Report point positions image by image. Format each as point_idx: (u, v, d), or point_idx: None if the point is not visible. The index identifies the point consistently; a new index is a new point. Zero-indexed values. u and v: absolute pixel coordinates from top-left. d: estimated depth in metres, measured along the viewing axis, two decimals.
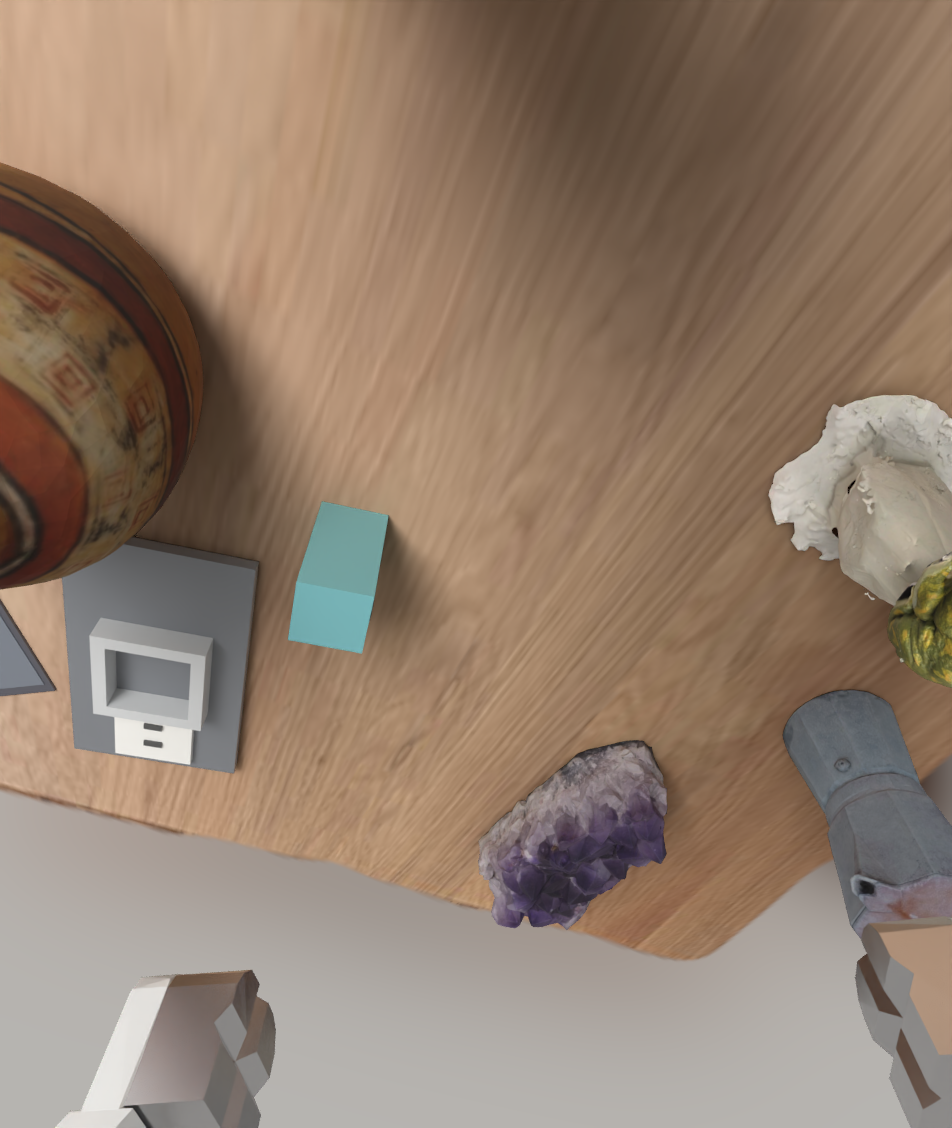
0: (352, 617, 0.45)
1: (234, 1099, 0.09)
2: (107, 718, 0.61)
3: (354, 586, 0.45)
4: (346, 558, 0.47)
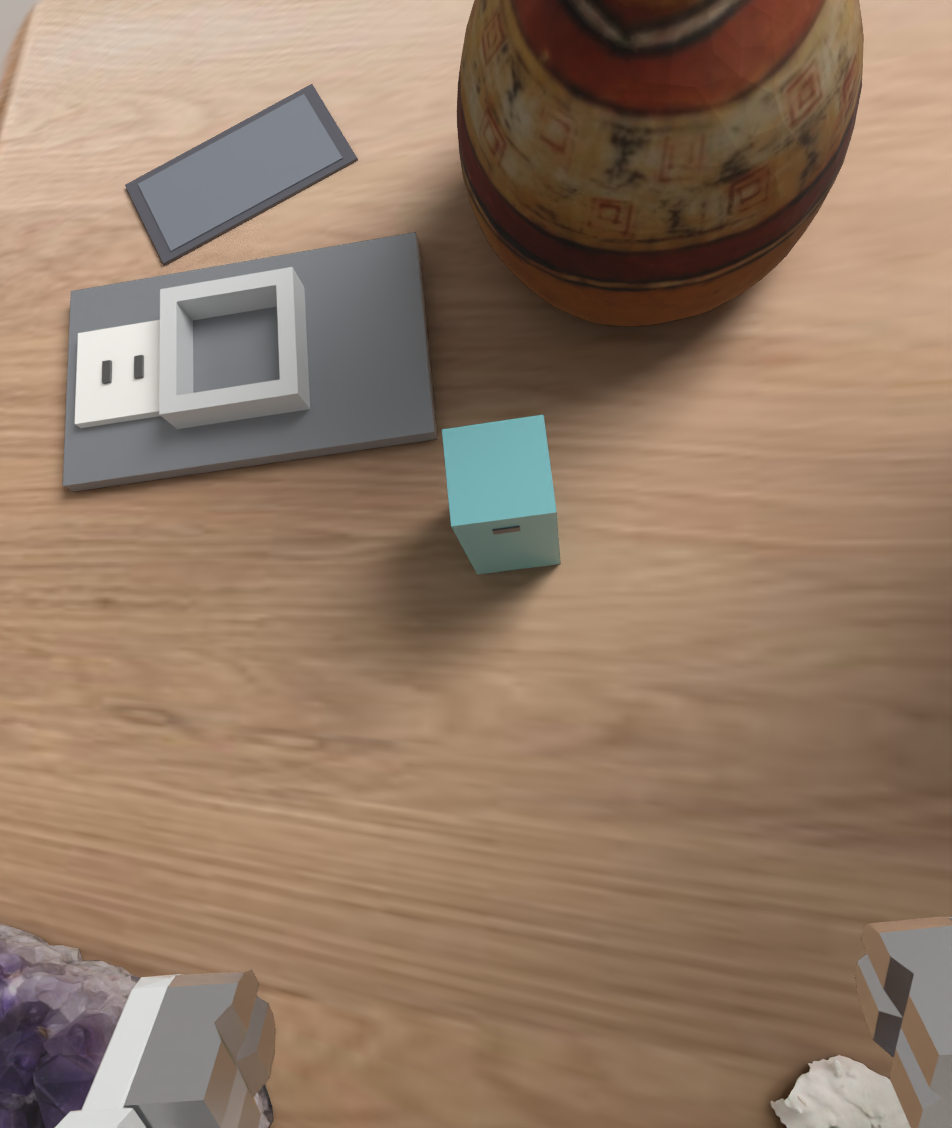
0: (509, 496, 0.33)
1: (234, 1099, 0.09)
2: (136, 318, 0.47)
3: None
4: None
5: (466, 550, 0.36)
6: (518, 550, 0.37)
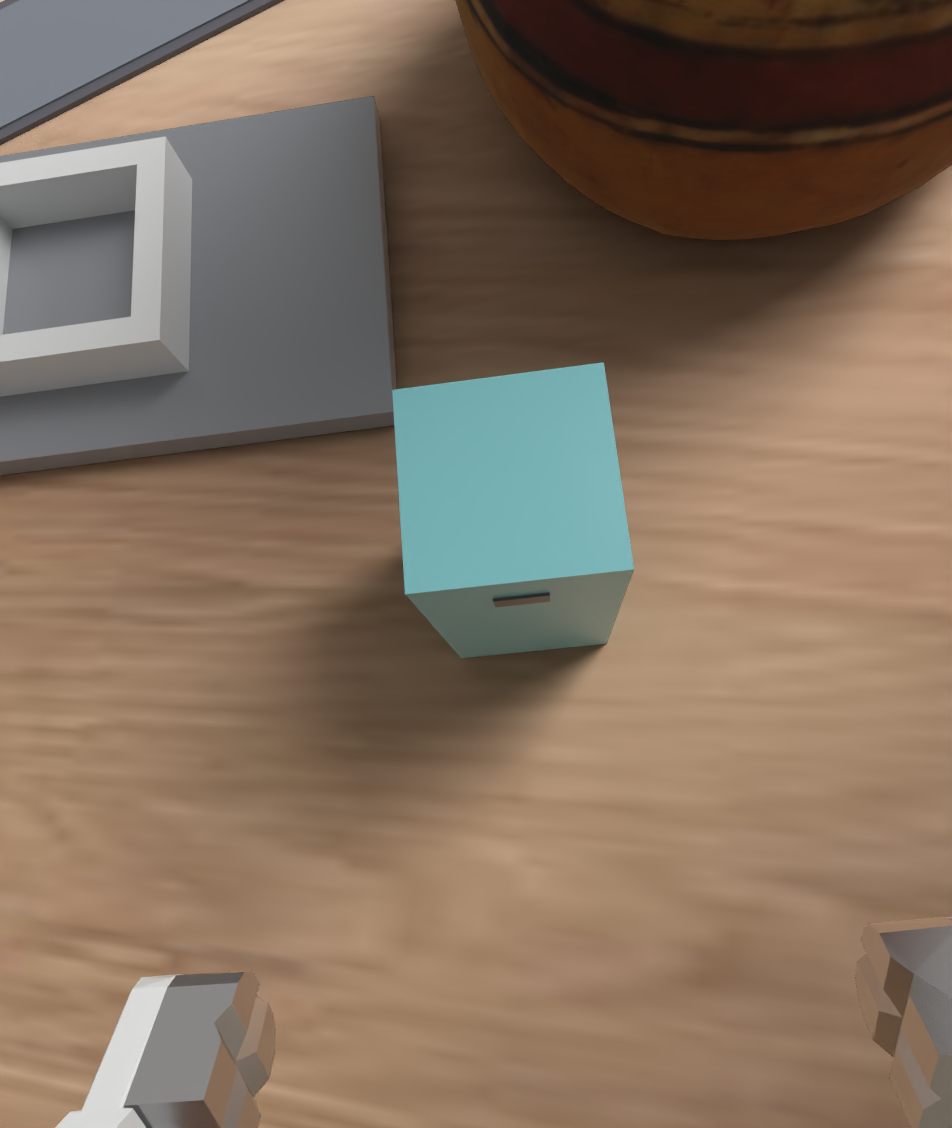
0: (532, 531, 0.15)
1: (234, 1099, 0.09)
2: None
3: None
4: None
5: (440, 629, 0.19)
6: (537, 628, 0.20)
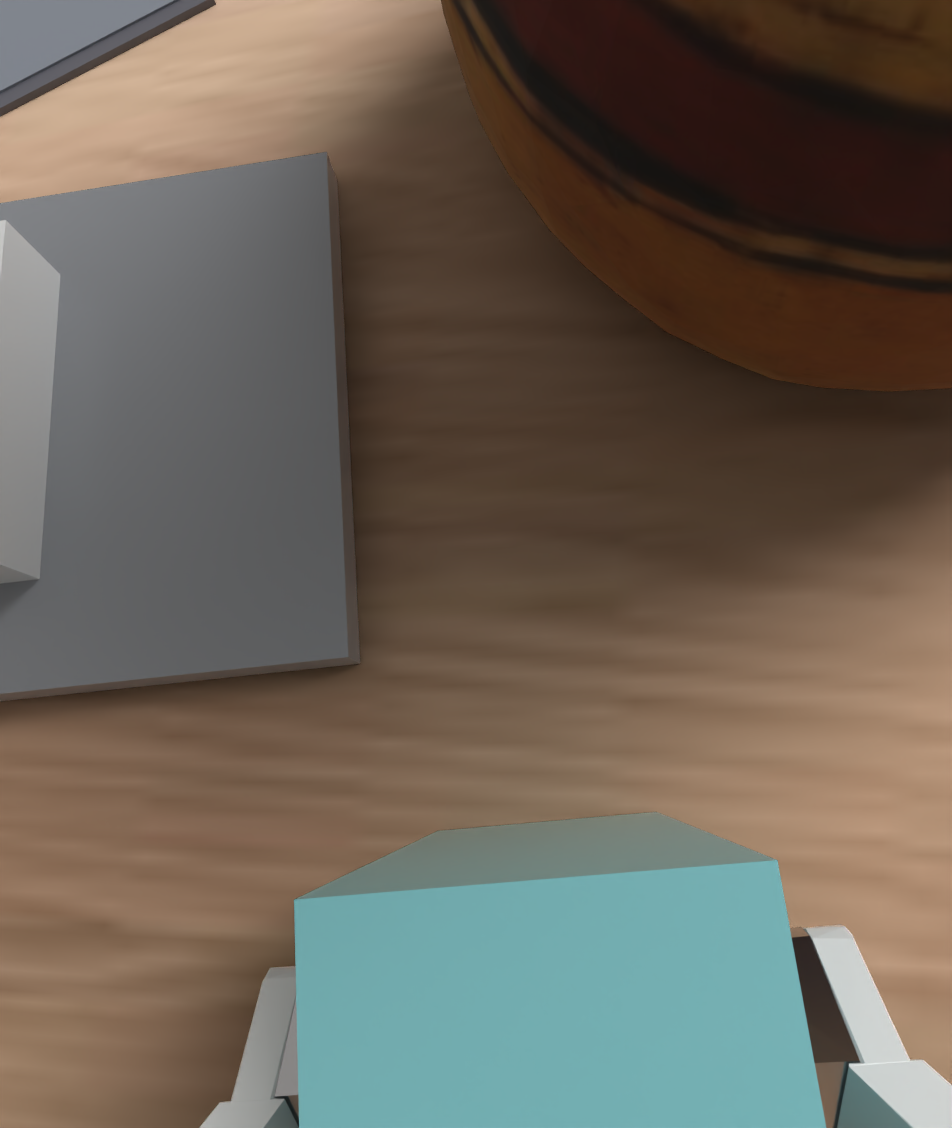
0: None
1: None
2: None
3: None
4: None
5: None
6: None
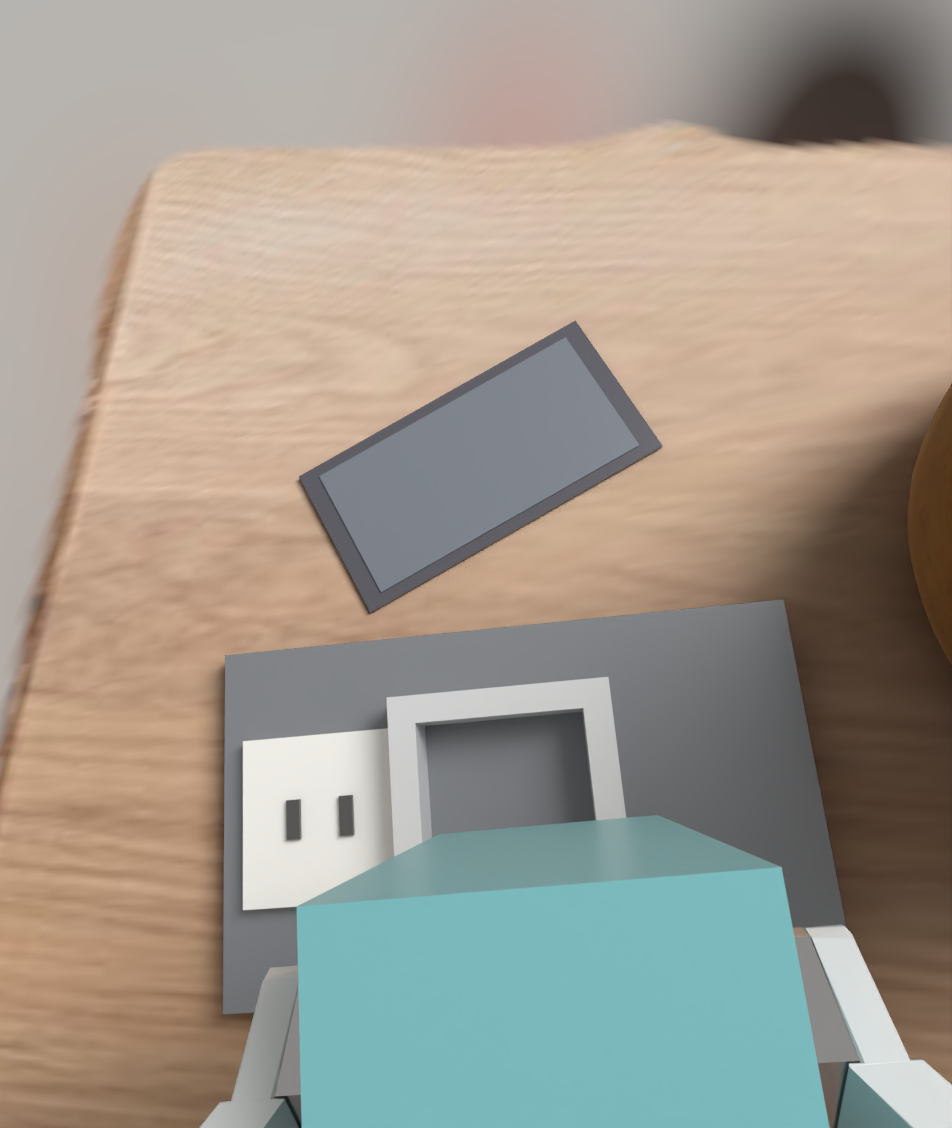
0: None
1: None
2: (332, 714, 0.30)
3: None
4: None
5: None
6: None
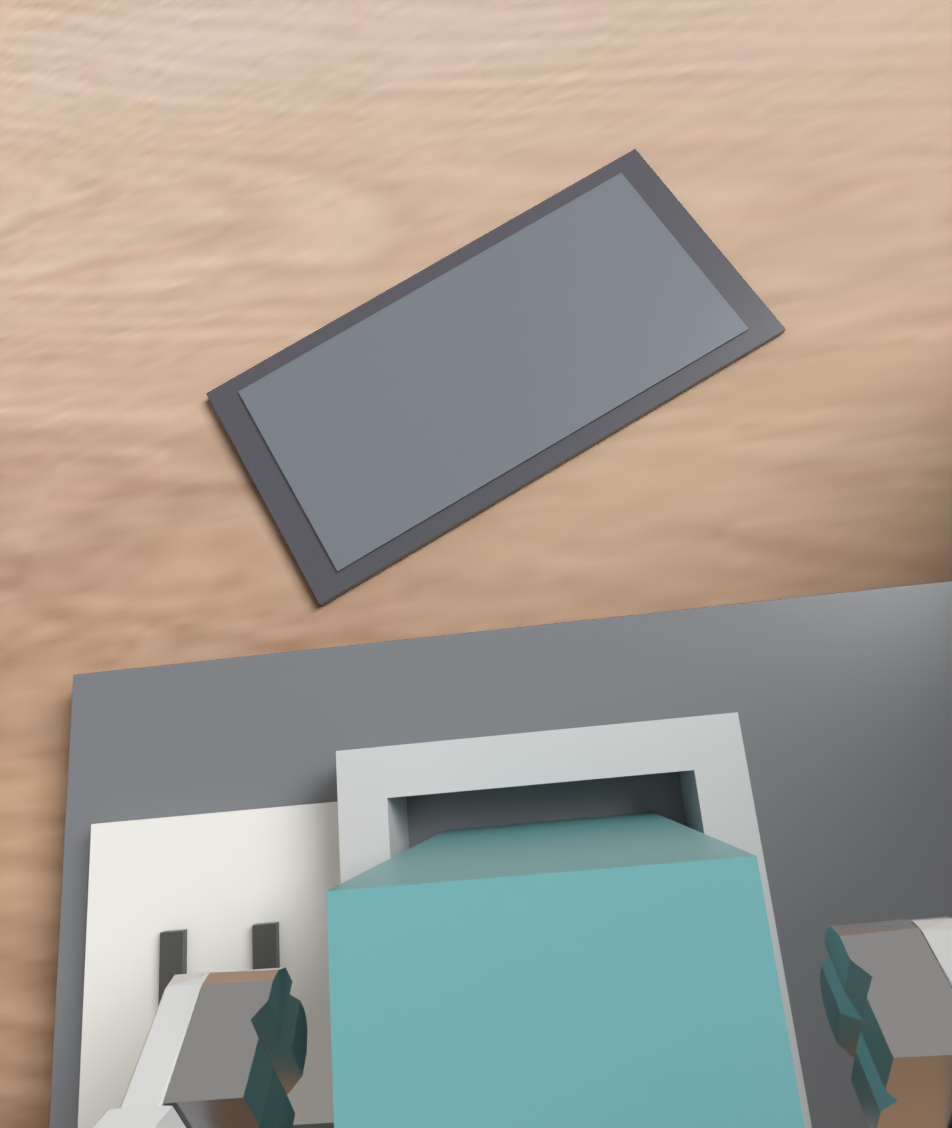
0: None
1: (271, 1097, 0.09)
2: (248, 774, 0.18)
3: None
4: None
5: None
6: None
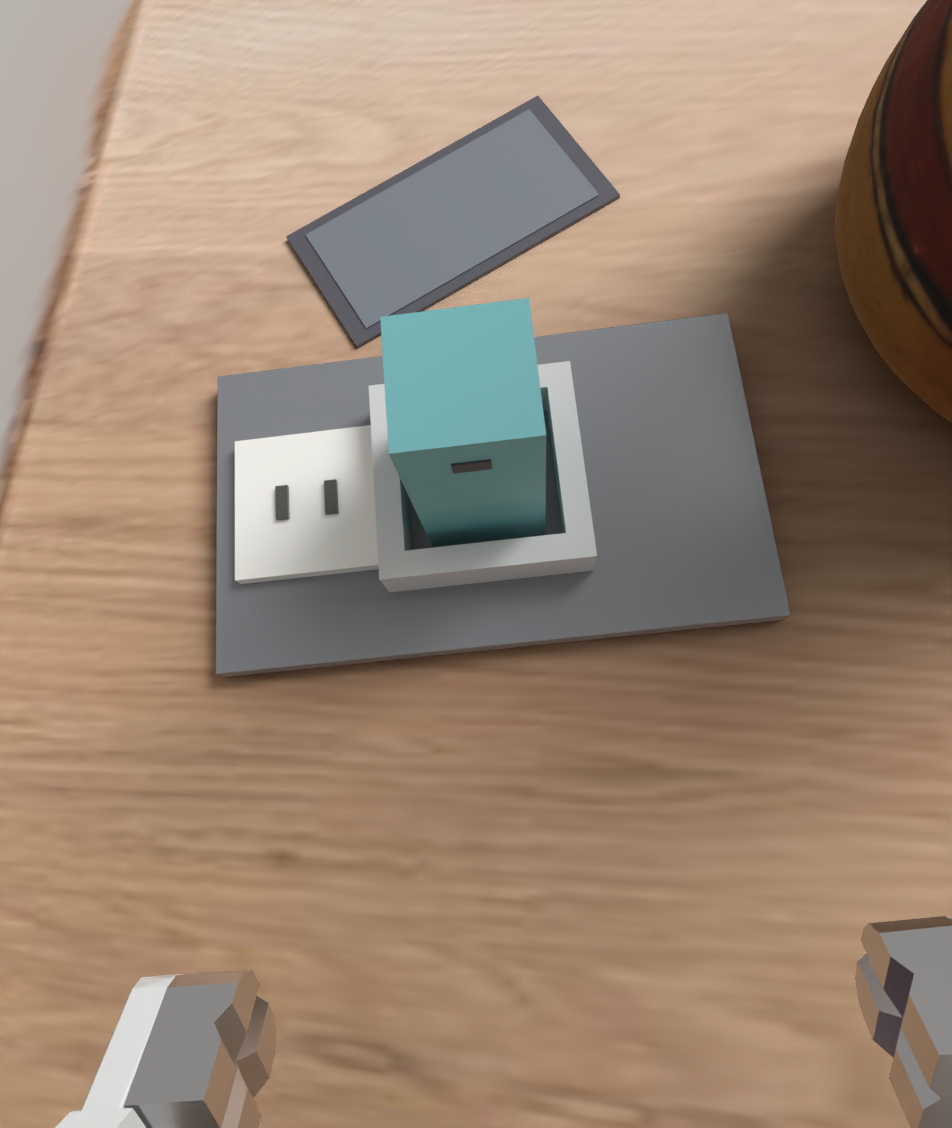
0: (477, 411, 0.22)
1: (234, 1099, 0.09)
2: (318, 421, 0.32)
3: None
4: None
5: (415, 502, 0.26)
6: (488, 506, 0.27)
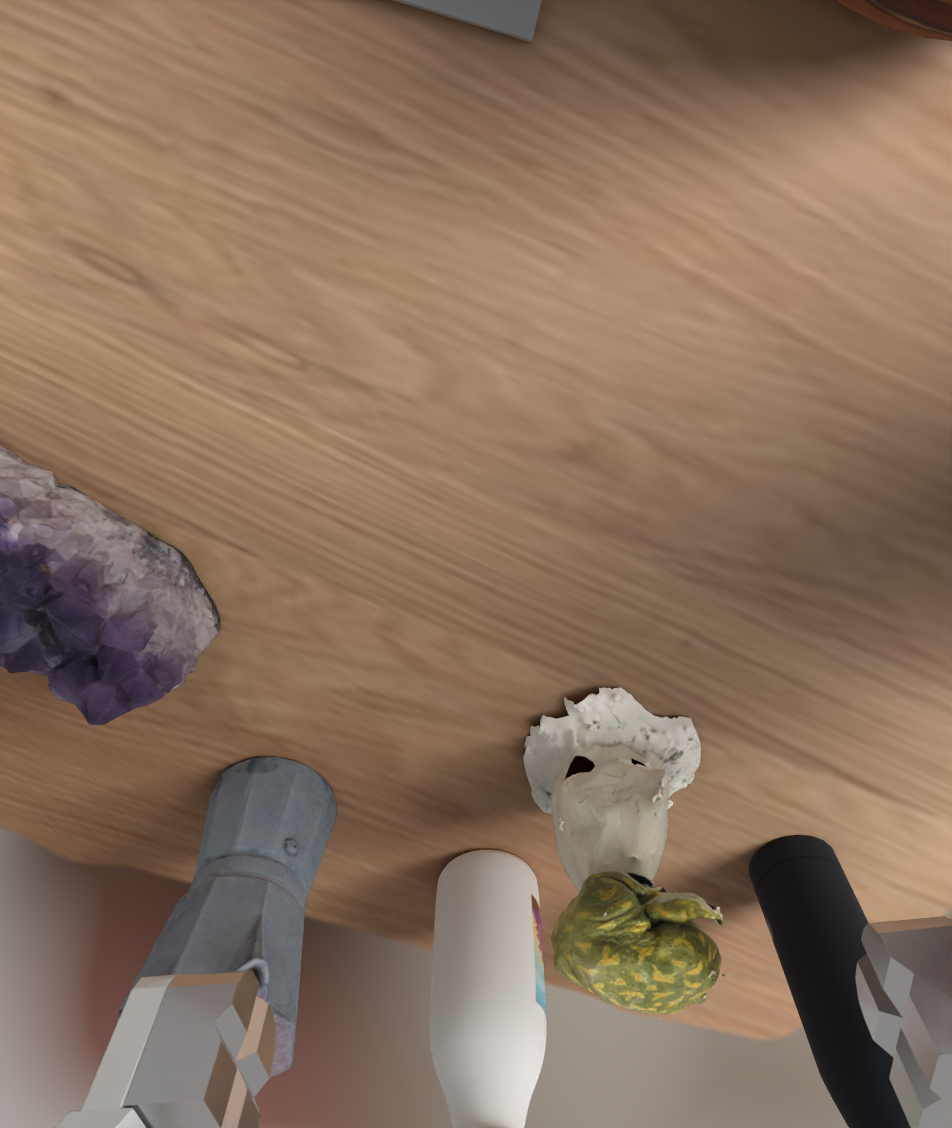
0: None
1: (234, 1099, 0.09)
2: None
3: None
4: None
5: None
6: None
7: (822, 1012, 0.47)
